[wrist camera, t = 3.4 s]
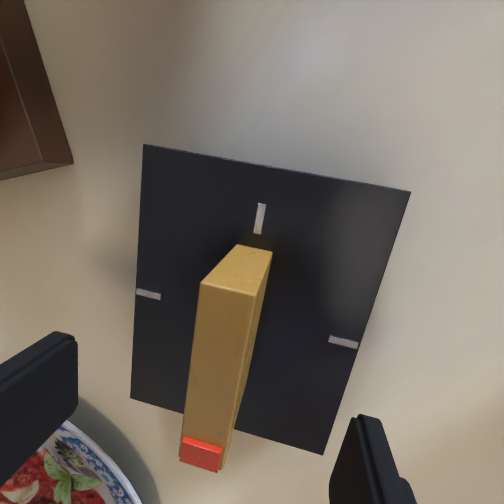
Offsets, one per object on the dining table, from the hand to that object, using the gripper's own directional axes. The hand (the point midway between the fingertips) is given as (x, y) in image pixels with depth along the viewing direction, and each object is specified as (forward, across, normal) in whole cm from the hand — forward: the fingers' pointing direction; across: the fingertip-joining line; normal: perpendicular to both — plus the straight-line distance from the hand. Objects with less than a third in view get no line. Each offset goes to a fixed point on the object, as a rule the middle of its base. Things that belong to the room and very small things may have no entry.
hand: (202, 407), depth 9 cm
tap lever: (+6, 0, 0) cm, 6 cm away
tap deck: (+9, 0, 0) cm, 9 cm away
